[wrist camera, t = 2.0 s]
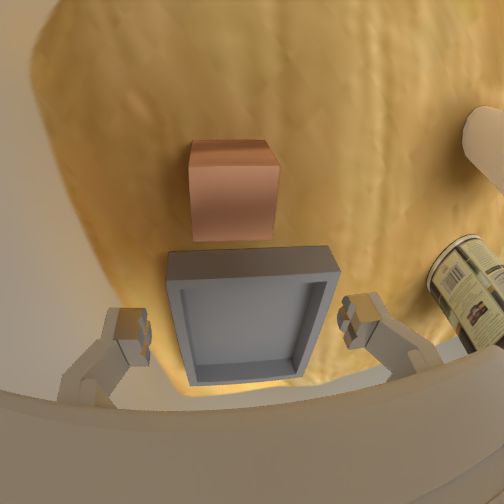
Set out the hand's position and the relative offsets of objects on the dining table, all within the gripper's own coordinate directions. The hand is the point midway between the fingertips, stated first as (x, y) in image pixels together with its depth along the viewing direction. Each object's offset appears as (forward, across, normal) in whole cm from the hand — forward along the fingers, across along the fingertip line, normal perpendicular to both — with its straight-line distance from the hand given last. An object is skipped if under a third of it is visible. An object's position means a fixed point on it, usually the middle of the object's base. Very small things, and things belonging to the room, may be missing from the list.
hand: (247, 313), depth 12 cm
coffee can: (+13, -29, +10) cm, 33 cm away
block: (+12, 0, -1) cm, 12 cm away
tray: (+13, -2, +15) cm, 20 cm away
